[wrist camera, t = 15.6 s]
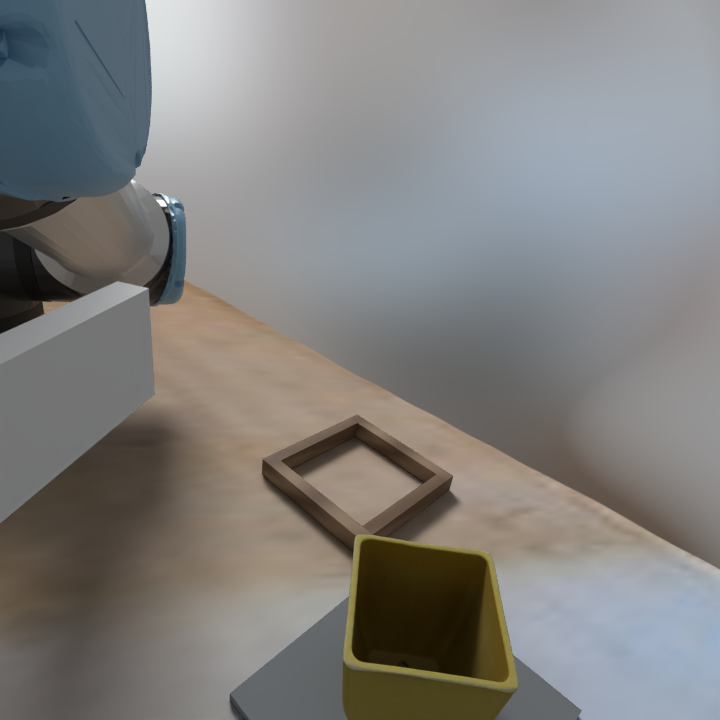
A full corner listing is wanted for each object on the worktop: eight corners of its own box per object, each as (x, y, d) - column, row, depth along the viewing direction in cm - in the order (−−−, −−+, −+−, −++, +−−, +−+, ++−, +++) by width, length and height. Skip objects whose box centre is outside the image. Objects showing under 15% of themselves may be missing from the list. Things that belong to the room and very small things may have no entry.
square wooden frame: (261, 473, 50) (262, 458, 50) (355, 427, 60) (357, 414, 59) (360, 557, 43) (362, 541, 42) (449, 489, 52) (453, 475, 51)
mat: (229, 699, 32) (229, 693, 31) (393, 563, 43) (394, 558, 42) (439, 980, 23) (442, 975, 22) (578, 715, 34) (581, 710, 33)
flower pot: (322, 762, 29) (341, 664, 25) (339, 622, 37) (355, 530, 32) (477, 787, 29) (521, 692, 25) (460, 641, 37) (492, 551, 32)
